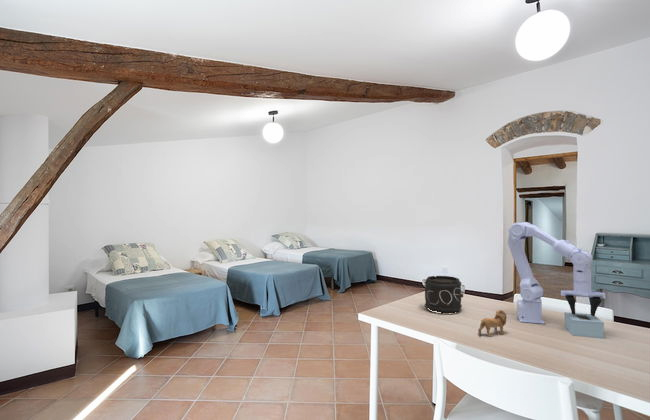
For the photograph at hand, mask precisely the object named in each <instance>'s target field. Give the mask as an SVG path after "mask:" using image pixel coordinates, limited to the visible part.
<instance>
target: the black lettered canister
mask: <svg viewBox="0 0 650 420" xmlns="http://www.w3.org/2000/svg"><path fill="white" fill-rule="evenodd" d="M424 285H425V287H424V300H425V301H424V302H425V303H424V307H426V309H427V308H429V309H430V310H432V311H437V312H441V313H455V312H459V313H460V311H461V310H462V306H463V305H462V298H464V293H462V282H461V281H460V278H458V277H454V276H449V275H436V276H435V275H432V276H427V277H426V279H425V280H424ZM459 310H460V311H459Z"/></svg>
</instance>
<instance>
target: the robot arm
mask: <svg viewBox="0 0 650 420" xmlns="http://www.w3.org/2000/svg"><path fill="white" fill-rule="evenodd" d="M528 237H534V238H537V239H539V240H540V241H542V242H544V243H546V244H548V245H549V246H552V249H553V250H554V251H555V252H556V253H558V254H559V255H561V256H563V258H567V260H570V262H571V263H572V265H573V266H572V267H573V269H572V270H573V271H572V272H573V275H572V276H573V289H572V290H564V289H563V290H560V296H561V297H565V299H566V301H567V303H568V305H569V307H570V313H572V314H573V315H575V313H576V302H577V301H576V298H577V297H578V298H580V297H582V298H589V304H590V305H589V306H590V314H591V315H592V316H596V312H597V310H598V307H599V306H600V304H601V303H602V299H606V293H605V292H601V291H600V292H598V291H592V270H591V263H592V262H593V255H592V254H591V253H590V252H589V251H588V250H582V247H578V246H575V245H573V244H572V243H570V240H567V239H566V240H565V239H557V238H556V237H554V236H553V235H551V234H549V233H547V232H546V231H545V230H543V229H541V228H540V227H538V226H537V225H535V224H532V223H530V222H529V221H524V222H514V223H513V224H512V225H511V226H510V227H509V228H508V238H507V245H508V248H509V251H510V254H511V256H512V259H513V262H514V264H515V267H516V270H517V273H518V276H519V280H520V283H519V288H520V291H519V295H520V297H521V299H517V301H516V306H517V307H516V309H517V311H516V312H517V313H516V315H517V319H518V321H519V322H520V323H531V324H544V325H545V323H546V322H545V321H544V320H543V307H542V306H543V305H542V303H543V302H542V297H543V295H544V294H545V293H544V289H543V287H542V285H540V284H539V281H538V280H537V279H536V278H535V277H534V274H533V272H532V269H531V265H530V263H529V261H528V257H527V255H526V252H525V250H524V246H523V243H524V241H525V240H526V239H527V238H528ZM575 297H576V298H575Z"/></svg>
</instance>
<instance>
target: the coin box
mask: <svg viewBox="0 0 650 420" xmlns="http://www.w3.org/2000/svg"><path fill="white" fill-rule="evenodd" d="M563 314H564V316H563V317H564V327H565V328H566V330H567V331H568V332H569V333H570V334H571V335H572V336H577V337H586V338H587V337H588V338H598V339H605V322H604V321H603V320H601V319H600V318H598V317H597V315H595V316H592V315H591V313H581V312H579V313H578V312H575V315H573V314H572V312H570V311H569V312H564V313H563ZM579 318H585V319H586V320H584V319H579Z"/></svg>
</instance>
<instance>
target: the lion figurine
mask: <svg viewBox="0 0 650 420" xmlns="http://www.w3.org/2000/svg"><path fill="white" fill-rule="evenodd" d="M507 318H508V317H507V313H506V312H505V310H503V309H498V310H496V312H495V316H494V317H491V318H489V317H485V318H482V319H481V320H480V323H479V324H480V325H479V328H478V331H477V333H478V336H479V337H481V336H482V335H483V334H482V330H483V329H484V328H485V330H486V334H487V336H488V337H493V334H491V333H490V331H491V328H492V329H493V332H494V333H496V334H498V332H499V334H500V335H502V336H503V335H505V333H504V332H503V331H504V326H505V325H506V324H507ZM498 328H499V331H498Z"/></svg>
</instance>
